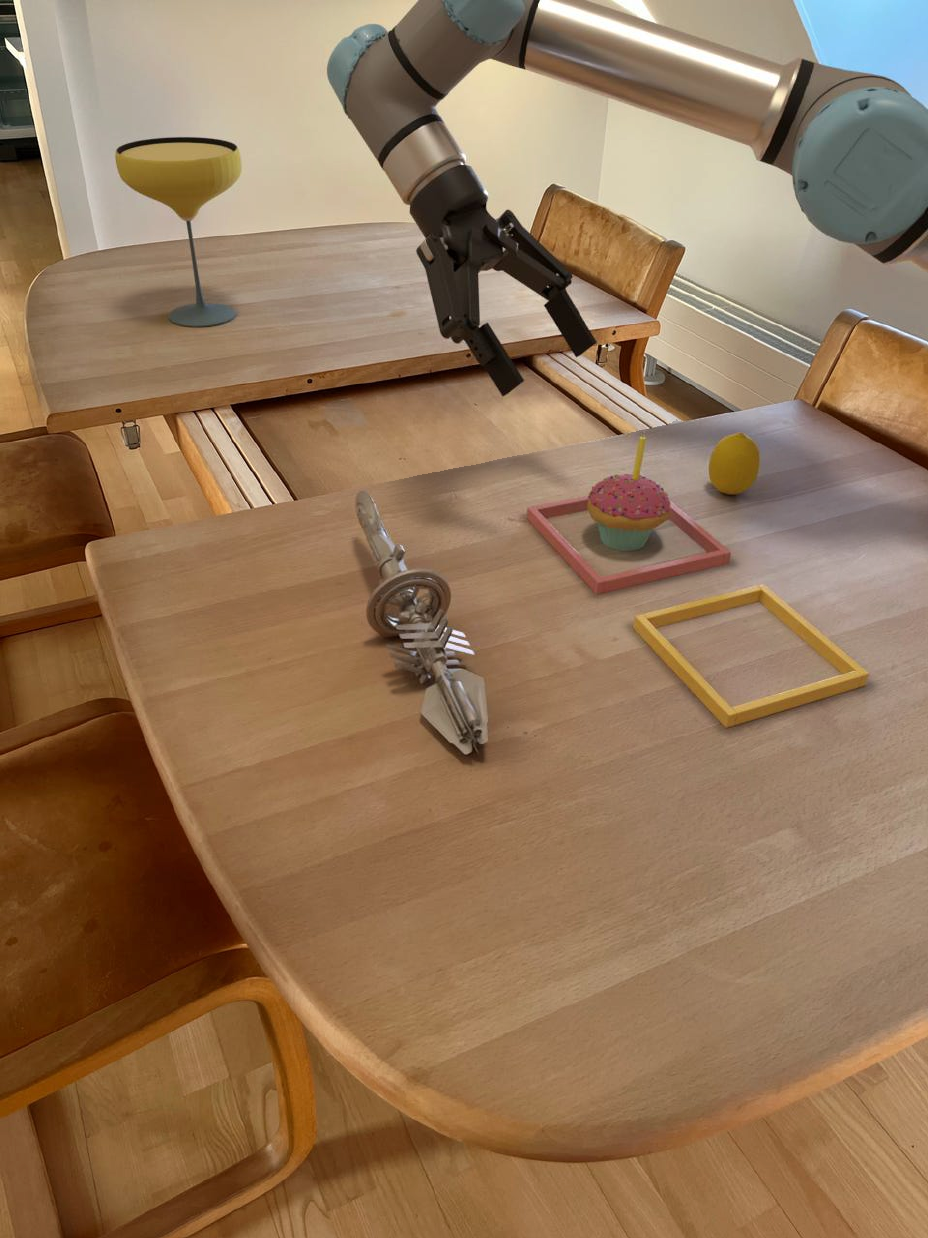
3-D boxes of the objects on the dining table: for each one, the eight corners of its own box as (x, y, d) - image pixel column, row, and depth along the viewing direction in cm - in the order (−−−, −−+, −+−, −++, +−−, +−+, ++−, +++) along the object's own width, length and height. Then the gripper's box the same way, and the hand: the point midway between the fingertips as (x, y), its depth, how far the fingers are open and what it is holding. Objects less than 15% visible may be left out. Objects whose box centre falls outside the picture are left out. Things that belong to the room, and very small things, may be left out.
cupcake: (596, 513, 104) (609, 412, 97) (671, 530, 102) (690, 428, 94) (573, 551, 98) (585, 446, 90) (653, 570, 95) (672, 464, 88)
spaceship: (405, 469, 96) (334, 453, 91) (541, 714, 72) (453, 708, 68) (377, 531, 100) (308, 519, 96) (497, 783, 76) (411, 781, 72)
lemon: (698, 501, 108) (711, 437, 103) (709, 480, 112) (722, 418, 107) (746, 512, 106) (761, 448, 101) (756, 491, 110) (771, 428, 105)
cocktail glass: (267, 298, 161) (251, 138, 146) (245, 337, 147) (223, 163, 131) (163, 295, 161) (135, 134, 146) (130, 333, 147) (95, 159, 132)
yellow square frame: (759, 600, 92) (763, 583, 91) (863, 691, 82) (869, 673, 80) (631, 632, 87) (634, 615, 86) (724, 733, 77) (729, 715, 76)
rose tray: (647, 498, 108) (649, 483, 107) (727, 568, 97) (731, 552, 96) (526, 523, 103) (527, 507, 102) (595, 599, 92) (598, 582, 90)
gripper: (488, 189, 104) (590, 353, 106) (332, 233, 88) (455, 425, 90) (531, 143, 98) (637, 317, 100) (373, 181, 82) (503, 387, 84)
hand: (551, 368), depth 95 cm, fingers open, 13 cm apart
